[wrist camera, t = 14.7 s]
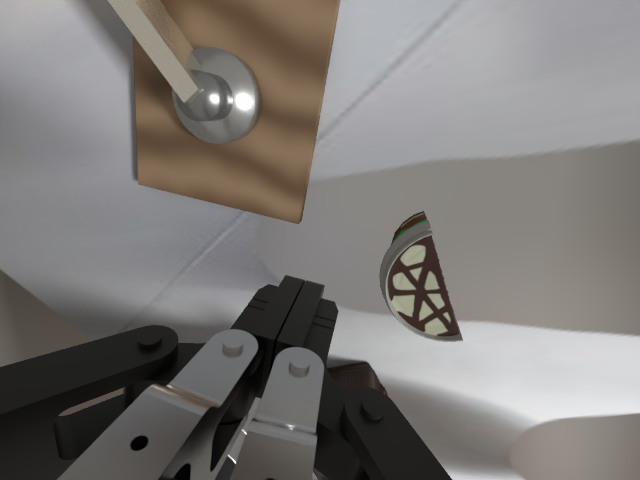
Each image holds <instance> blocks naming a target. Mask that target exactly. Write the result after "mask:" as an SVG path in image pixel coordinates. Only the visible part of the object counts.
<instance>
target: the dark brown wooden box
mask: <svg viewBox="0 0 640 480" xmlns="http://www.w3.org/2000/svg"><path fill="white" fill-rule="evenodd" d="M327 370H328V372H329V374H330V376H331V377H332V378H333V379H334V380H335V381H336V382H337V383H338V384H339V385H341V386H342V387H344V388H345V389H347V390H349V391H352V390H353V389H356V388H359V387H370V388H374V389H376V390H379V391H381V392H382V393H384V394H385V395H387V396H388V394H387V392H386V390H385V388H384V387H383V386H382V384H381V383H380V382H379V379H378V377H377V375H376V373H375V372H374V370H373V369H372V367H371V366H370V365H369V363H360V364H349V365H344V366H338V367H333V368H328V369H327ZM313 472H314V473H315V475H316V477H317V479H318V480H324V475H323V474H322V473H320V472H319V471H318V470H316V469H315V468H314V467H313Z"/></svg>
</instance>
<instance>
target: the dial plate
mask: <svg viewBox="0 0 640 480" xmlns="http://www.w3.org/2000/svg"><path fill="white" fill-rule="evenodd" d="M159 1H160V3H161V4H162V5H163V7H164V8H165V10H166V11H167V13H168V14H169V15H170V17H171V18H172V20H173V21H174V22H175V24H176V25H177V27H178V28H179V29H180V31H181V32H182V34H183V35H184V36H185V38H186V39H187V41H188V42H189V43H190V45H191V46H192V48H193V49H194V50H195V49H198V48H202V47H215V48H219V49H222V50H225V51H227V52H230V53H232V54H235V55H236V56H238V57H240V58H241V59H242V60H244V61H245V62H246V63H247V64H248V65H249V67H250V68H251V69H252V71H253V72H254V74H255V76H256V78H257V80H258V83H259V86H260V90H261V96H262V107H261V113H260V116H259V119H258V121H257V123H256V125H255V127H254V128H253V129H252V131H251V132H250V133H249V134H248V135H246V136H245V137H243V138H241V139H239V140H237V141H233V142H228V143H222V144H215V143H209V142H206V141H203V140H201V139H199V138H198V137H196V136H195V135H193V134H192V133H191V132H190V131H189V130H188V129H187V128H186V127H185V126H184V124H183V123H182V122H181V120H180V118H179V116H178V114H177V112H176V110H175V106H174V103H173V98H172V86H171V85H170V84H169V82H168V81H167V80H166V78H165V77H164V76H163V74H162V73H161V72H160V70H159V69H158V68H157V66H156V65H155V64H154V62H153V61H152V60H151V58H150V57H149V56H148V54H147V53H146V52H145V50H144V49H143V48H142V46H141V45H140V43H139V42H138V41H137V39H136V38H135V37H134V35H133V46H134V76H135V105H136V134H137V164H138V184H139V185H143V186H147V187H151V188H155V189H159V190H163V191H167V192H171V193H175V194H179V195H183V196H187V197H192V198H196V199H200V200H204V201H208V202H212V203H216V204H220V205H224V206H228V207H232V208H236V209H240V210H244V211H248V212H252V213H256V214H260V215H264V216H268V217H272V218H276V219H281V220H285V221H289V222H293V223H297V224H299V223H300V222H301V220H302V215H303V209H304V203H305V198H306V192H307V187H308V181H309V175H310V170H311V164H312V158H313V152H314V147H315V141H316V135H317V130H318V124H319V118H320V113H321V107H322V101H323V96H324V90H325V84H326V78H327V73H328V67H329V61H330V56H331V50H332V44H333V39H334V33H335V27H336V22H337V16H338V10H339V4H340V0H159Z"/></svg>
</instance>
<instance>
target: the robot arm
mask: <svg viewBox="0 0 640 480" xmlns="http://www.w3.org/2000/svg"><path fill="white" fill-rule="evenodd" d="M323 291H324V285H322V284H318V283H314V282H310V281H305V280H302V279H299V278H294V277H291V276H287V275H286V276H285V277H284V279H283V280H282V282H281V283H280V285H279V287H277V286H274V285H270V284H268V285H266V286H265V287H263V288H261V289H259V290H258V291H257V292H256V294H255V295H254V297H253V299H251V301H250V302H249V304H248V306H246V308H245V309H244V311H243V312H242V313H241V315H240V316H239V317H238V319H237V320H236V322H235V323H234V324H233V326H232V327H231V329H229V330H224V331H221V332H219V333H217V334H215V335H214V336H213V337H212V338H211V339H210V340H209V341H208V342H207V343H202V344H194V343H178V336H177V334H176V333H175V331H173V330H172V329H170V328H168V327H165V326H159V325H152V326H145V327H141V328H138V329H134V330H131V331H127V332H123V333H120V334H116V335H113V336H109V337H106V338H102V339H99V340H95V341H92V342H88V343H84V344H81V345H77V346H74V347H70V348H67V349H63V350H59V351H56V352H52V353H49V354H45V355H42V356H38V357H35V358H31V359H27V360H24V361H20V362H17V363H13V364H10V365H6V366H3V367H0V480H312V474H313V467H314V468H315V469H316V470H318V471H319V472H320V473H322V474H323V475H324V480H452V479H451V478H450V476H449V475H448V474H447V472H446V471H445V470H444V468H443V467H442V466H441V464H440V463H439V462H438V460H437V459H436V458H435V456H434V455H433V454H432V452H431V451H430V450H429V449H428V447H427V446H426V445H425V443H424V442H423V441H422V439H421V438H420V437H419V435H418V434H417V433H416V431H415V430H414V429H413V427H412V426H411V425H410V424H409V422H408V421H407V420H406V418H405V417H404V416H403V414H402V413H401V412H400V410H399V409H398V408H397V406H396V405H395V404H394V402H393V401H392V400H391V399H390V398H389V397H388V396H387V395H385V394H384V393H382V392H381V391H379V390H376V389H374V388H370V387H359V388H356V389H353V390H352V391H349V390H347V389H345V388H344V387H342V386H341V385H339V384H338V383H337V382H336V381H335V380H334V379H333V378H332V377H331V376H330V374H329V372H328V370H327V366H326V361H327V356H328V352H329V348H330V344H331V340H332V335H333V331H334V327H335V323H336V319H337V315H338V309H337V307H336V304H335V302H333V301H330V300H325V299H322V295H323ZM121 388H123V394H121V395H119V396H116V397H113V398H111V399H108V400H106V401H103V402H101V403H98V404H96V405H93V406H91V407H88V408H85V409H83V410H80V411H77V412H75V413H72V414H70V415H66V416H58V415H59V414H60V413H62V412H63V411H65V410H66V409H68V408H70V407H73V406H76V405H79V404H81V403H84V402H86V401H89V400H92V399H94V398H97V397H100V396H102V395H105V394H108V393H110V392H113V391H116V390H118V389H121Z"/></svg>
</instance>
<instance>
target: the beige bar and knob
mask: <svg viewBox="0 0 640 480" xmlns="http://www.w3.org/2000/svg"><path fill="white" fill-rule="evenodd" d="M107 1H108V2H109V3H110V5H111V6H112V7H113V9H114V10H115V11H116V13H117V14H118V15H119V17H120V18H121V19H122V21H123V22H124V23H125V25H126V26H127V27H128V29H129V30H130V31H131V33H132V34H133V35H134V37H135V38H136V39H137V41H138V42H139V43H140V45H141V46H142V48H143V49H144V50H145V52H146V53H147V54H148V56H149V57H150V58H151V60H152V61H153V62H154V64H155V65H156V66H157V68H158V69H159V70H160V72H161V73H162V74H163V76H164V77H165V78H166V80H167V81H168V82H169V84H170V85H171V86H172V98H173V103H174V106H175V110H176V112H177V114H178V116H179V118H180V120H181V122H182V123H183V124H184V126H185V127H186V128H187V129H188V130H189V131H190V132H191V133H192V134H193V135H195V136H196V137H198V138H199V139H201V140H203V141H206V142H209V143H215V144H222V143H228V142H233V141H237V140H239V139H241V138H243V137H245V136H246V135H248V134H249V133H250V132H251V131H252V129H253V128H254V127H255V125H256V123H257V121H258V119H259V116H260V113H261V107H262V96H261V90H260V86H259V83H258V80H257V78H256V76H255V74H254V72H253V71H252V69H251V68H250V67H249V65H248V64H247V63H246V62H245V61H244V60H242V59H241V58H240V57H238V56H236V55H235V54H232V53H230V52H227V51H225V50H222V49H219V48H215V47H202V48H198V49H195V50H194V49H193V48H192V46H191V45H190V43H189V42H188V41H187V39H186V38H185V36H184V35H183V34H182V32H181V31H180V29H179V28H178V27H177V25H176V24H175V22H174V21H173V20H172V18H171V17H170V15H169V14H168V13H167V11H166V10H165V8H164V7H163V5H162V4H161V3H160V1H159V0H107Z"/></svg>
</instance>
